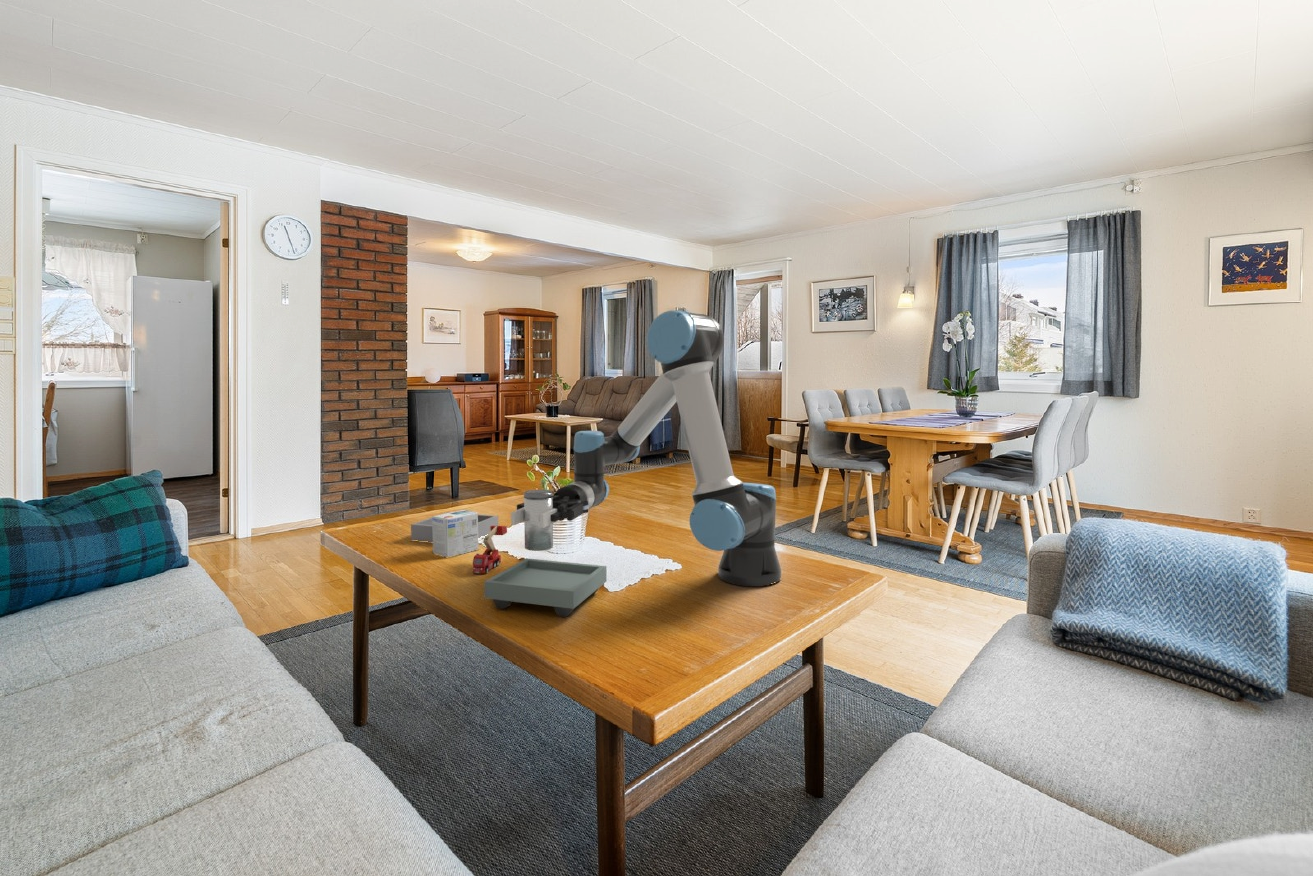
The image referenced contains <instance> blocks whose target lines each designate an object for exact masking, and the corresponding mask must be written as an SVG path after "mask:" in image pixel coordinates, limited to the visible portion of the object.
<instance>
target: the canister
mask: <svg viewBox="0 0 1313 876" xmlns="http://www.w3.org/2000/svg"><path fill="white" fill-rule="evenodd" d="M553 496H554V491H553V490H550V489H541V488H540V489H529V490H525V491H523V500H524V501H523V503H524V521H523V522H524V549H525V550H528V551H535V552H540V551H541V552H542V551H547V550H551V549H553V548H554V523H552V524H550V525H548V526H546V527H544V528H540V514H543V513H545V512H547V511H549V510H552V509H553Z"/></svg>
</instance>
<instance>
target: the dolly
mask: <svg viewBox="0 0 1313 876" xmlns="http://www.w3.org/2000/svg"><path fill="white" fill-rule="evenodd" d="M483 582H484V586H483V587H484V589H483V590H484V591H483V592H484V599H487V600H488V599H489V600H492V602H493V605H494V607H495V608H497V609H499V610H505V609H506V608H508V607H510V606H511V604H512V602H514V603H521V604H522V603H523V604H530V605H531V604H532V605H537V606H538V605H539V606H547V607H553V608H554V611H555V614H556V615H557V616H559V617H560V618H566V617H568V616H570V615H571V613H573V611H574V609H575V608H576V607H578V606H579V605H580V604H581V603H583V601H585V600H586V599H587V598H588V597H590V596H591V595H594V594H595V593H596V592H598V590H599V589H600V588H601V587H602V586H603V585H605V583H607V565H600V564H599V565H598V564H590V563H589V564H587V563H586V564H585V563H577V562H576V563H575V562H566V561H558V560H547V559H546V560H545V559H535V558H525V559H522V560H521V561H519V562H517V563H516V564H514V565H512V566H510V567H508V568H506V569H505V570H503V571H501V572H499V573H497V574H496V575H494V576H492V577H490V578H488V579H486V580H484V581H483Z"/></svg>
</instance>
